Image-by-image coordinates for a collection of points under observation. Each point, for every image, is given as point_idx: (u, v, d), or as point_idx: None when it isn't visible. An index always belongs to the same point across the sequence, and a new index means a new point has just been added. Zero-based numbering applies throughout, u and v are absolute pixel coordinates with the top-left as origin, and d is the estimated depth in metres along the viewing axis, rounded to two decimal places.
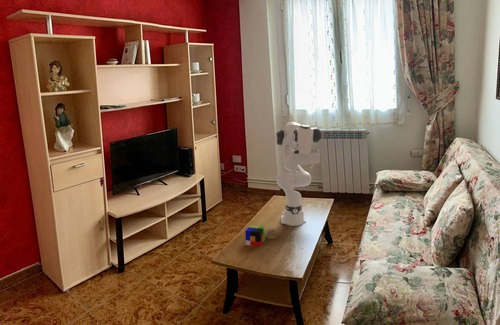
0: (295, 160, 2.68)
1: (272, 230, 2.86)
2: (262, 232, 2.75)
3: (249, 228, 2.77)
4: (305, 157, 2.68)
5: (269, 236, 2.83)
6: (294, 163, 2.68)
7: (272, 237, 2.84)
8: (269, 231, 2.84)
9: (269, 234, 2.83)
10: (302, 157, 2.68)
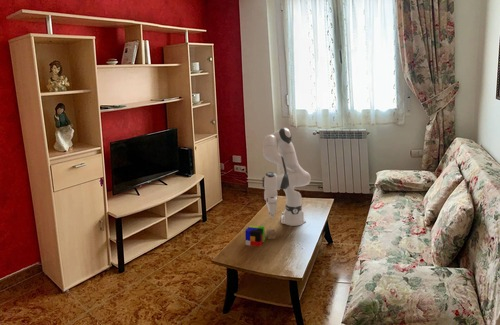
0: None
1: (272, 230, 2.86)
2: (262, 232, 2.75)
3: (249, 228, 2.77)
4: None
5: (269, 236, 2.83)
6: None
7: (272, 237, 2.84)
8: (269, 231, 2.84)
9: (269, 234, 2.83)
10: None
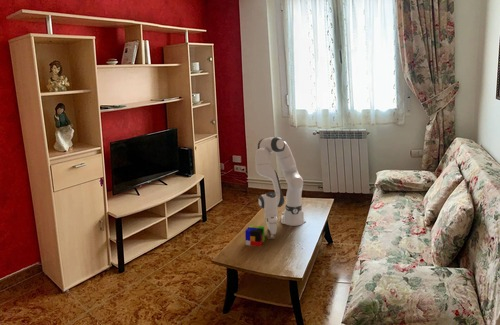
0: None
1: None
2: (262, 232, 2.75)
3: (249, 228, 2.77)
4: None
5: (269, 236, 2.83)
6: None
7: (272, 237, 2.83)
8: (269, 231, 2.84)
9: (269, 234, 2.83)
10: None
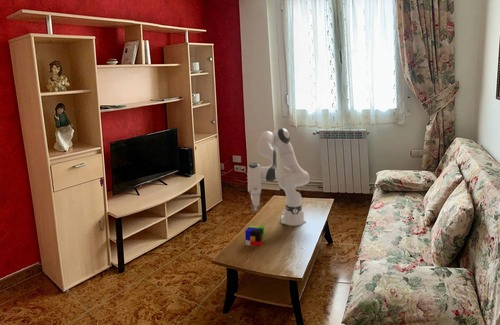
0: None
1: None
2: (262, 232, 2.75)
3: (249, 228, 2.77)
4: None
5: (253, 209, 2.71)
6: None
7: (256, 210, 2.72)
8: None
9: (253, 207, 2.71)
10: None
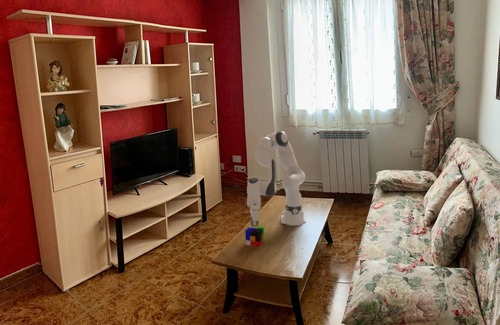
0: None
1: None
2: (262, 232, 2.75)
3: (249, 228, 2.77)
4: None
5: (252, 224, 2.73)
6: None
7: (255, 225, 2.73)
8: None
9: (252, 221, 2.72)
10: None
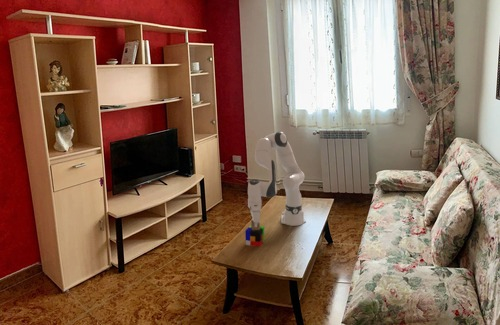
0: None
1: None
2: (262, 232, 2.75)
3: (249, 228, 2.77)
4: None
5: (253, 227, 2.73)
6: None
7: (256, 228, 2.73)
8: (253, 222, 2.74)
9: (253, 225, 2.73)
10: None
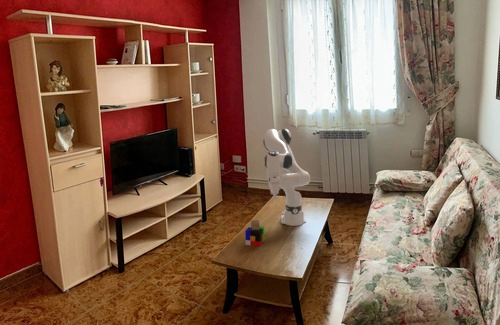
0: None
1: (256, 221, 2.76)
2: (262, 232, 2.76)
3: (249, 228, 2.77)
4: None
5: (253, 227, 2.73)
6: None
7: (256, 228, 2.74)
8: (253, 222, 2.74)
9: (253, 225, 2.73)
10: None
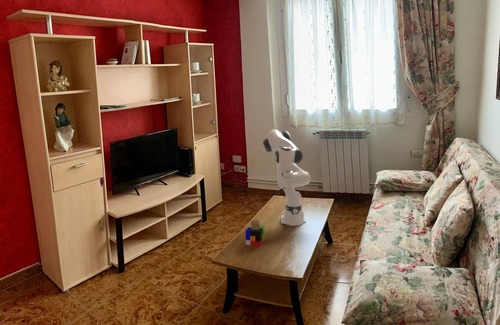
0: None
1: (256, 221, 2.76)
2: (262, 232, 2.76)
3: (249, 228, 2.77)
4: None
5: (253, 227, 2.73)
6: None
7: (256, 228, 2.74)
8: (253, 222, 2.74)
9: (253, 225, 2.73)
10: None
